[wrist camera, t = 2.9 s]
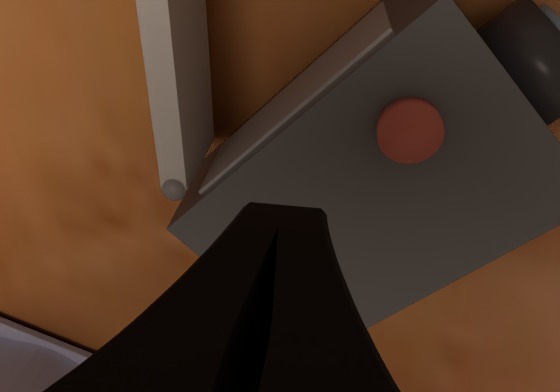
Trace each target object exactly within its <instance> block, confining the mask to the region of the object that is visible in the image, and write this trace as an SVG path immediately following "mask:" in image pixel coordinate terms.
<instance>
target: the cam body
mask: <svg viewBox="0 0 560 392" xmlns="http://www.w3.org/2000/svg"><path fill="white" fill-rule="evenodd" d="M558 118H560V17H559V16H558V15H557V14H556V13H555V12H554V11H553V10H552V9H551V8H550V7H549V6H547V5H546V4H542V5H541V6H539V7H538V6H537V5H536V4H535V3H534V2H533V1H532V0H516V1H515V2H513V3H512V4H511V5H509V6H508V7H507V8H506V9H504V10H503V11H502V12H500V13H499V14H498V15H497V16H495V17H494V18H493V19H491V20H490V21H489V22H488V23H486V24H485V25H484V26H482V27H481V28H480V29H479V30H477V31H476V30H475V29H474V28H473V26H472V25H471V24H470V22H469V21H468V20H467V18H466V17H465V16H464V14H463V13H462V12H461V10H460V9H459V8H458V6H457V5H456V4H455V2H454V1H453V0H382V1H380V2H379V3H378V4H377V5H376V6H375V7H374V8H373V9H372V10H370V11H369V12H368V13H367V14H366V15H365V16H364V17H363V18H361V19H360V20H359V21H358V22H357V23H356V24H355V25H354V26H352V27H351V28H350V29H349V30H348V31H347V32H346V33H345V34H344V35H342V36H341V37H340V38H339V39H338V40H337V41H336V42H335V43H333V44H332V45H331V46H330V47H329V48H328V49H327V50H326V51H325V52H323V53H322V54H321V55H320V56H319V57H318V58H317V59H316V60H314V61H313V62H312V63H311V64H310V65H309V66H308V67H307V68H306V69H304V70H303V71H302V72H301V73H300V74H299V75H298V76H297V77H295V78H294V79H293V80H292V81H291V82H290V83H289V84H288V85H287V86H285V87H284V88H283V89H282V90H281V91H280V92H279V93H278V94H276V95H275V96H274V97H273V98H272V99H271V100H270V101H269V102H268V103H266V104H265V105H264V106H263V107H262V108H261V109H260V110H259V111H257V112H256V113H255V114H254V115H253V116H252V117H251V118H250V119H249V120H247V121H246V122H245V123H244V124H243V125H242V126H241V127H240V128H238V129H237V130H236V131H235V132H234V133H233V134H232V135H231V136H229V137H228V138H227V139H226V140H225V141H224V142H223V143H222V144H221V145H219V146H218V147H217V148H216V149H215V150H214V151H213V152H212V153H210V154H209V155H208V156H207V157H206V158H205V159H204V160H203V161H202V163H201V165H200V167H199V169H198V171H197V172H196V174H195V176H194V178H193V180H192V182H191V184H190V186H189V188H188V189H187V191H186V193H185V195H184V197H183V199H182V201H181V203H180V205H179V206H178V208H177V210H176V212H175V214H174V216H173V218H172V220H171V222H170V223H169V225H168V227H167V230H168V231H169V232H171V233H172V234H173V235H174V236H176V237H177V238H178V239H179V240H180V241H182V242H183V243H184V244H185V245H186V246H188V247H189V248H190V249H191V250H193V251H194V252H195V253H196V254H197V255H199V256H201V255H202V254H203V253H204V252H205V251H206V250H207V249H208V248H209V247H210V246H211V245H212V243H213V242H214V241H215V240H216V239H217V238H218V237H219V236H220V234H221V233H222V232H223V231H224V230H225V229H226V228H227V226H228V225H229V224H230V223H231V222H232V220H233V219H234V218H235V217H236V216H237V214H238V213H239V212H240V211H241V209H242V208H243V207H244V206H245V205H247V204H248V203H249V202H257V203H268V204H279V205H290V206H301V207H313V208H321V209H322V210H323V211H324V212H325V213H326V214H327V221H328V227H329V232H330V237H331V240H332V244H333V247H334V250H335V254H336V257H337V260H338V263H339V266H340V268H341V271H342V274H343V276H344V279H345V281H346V284H347V286H348V288H349V291H350V293H351V296H352V298H353V301H354V303H355V305H356V307H357V310H358V312H359V314H360V316H361V318H362V321H363V323H364V325H365V327H366V328H368V327H370V326H372V325H374V324H376V323H378V322H379V321H381V320H383V319H385V318H387V317H389V316H391V315H392V314H394V313H396V312H398V311H400V310H402V309H404V308H405V307H407V306H409V305H411V304H413V303H415V302H417V301H419V300H420V299H422V298H424V297H426V296H428V295H430V294H432V293H433V292H435V291H437V290H439V289H441V288H443V287H445V286H447V285H448V284H450V283H452V282H454V281H456V280H458V279H460V278H461V277H463V276H465V275H467V274H469V273H471V272H473V271H474V270H476V269H478V268H480V267H482V266H484V265H486V264H488V263H489V262H491V261H493V260H495V259H497V258H499V257H501V256H502V255H504V254H506V253H508V252H510V251H512V250H514V249H516V248H517V247H519V246H521V245H523V244H525V243H527V242H529V241H530V240H532V239H534V238H536V237H538V236H540V235H542V234H544V233H545V232H547V231H549V230H551V229H553V228H555V227H557V226H558V225H560V142H559V141H558V140H557V138H556V137H555V136H554V134H553V133H552V132H551V130H550V129H549V128H548V126H547V125H549V124H551V123H552V122H554V121H555V120H557V119H558Z"/></svg>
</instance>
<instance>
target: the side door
mask: <svg viewBox="0 0 560 392" xmlns="http://www.w3.org/2000/svg"><path fill="white" fill-rule="evenodd" d="M136 6H137V14H138V21H139V29H140V36H141V43H142V51H143V58H144V66H145V73H146V81H147V88H148V96H149V103H150V110H151V118H152V125H153V133H154V140H155V148H156V155H157V163H158V170H159V177H160V185H161V190H162V193H163V195H164V196H165V197H166V198H167V199H169V200H172V201H178V200H180V199H182V198H183V196H184V194H185V192H186V191H187V189H188V187H189V185H190V183H191V181H192V180H193V178H194V176H195V174H196V172H197V170H198V168H199V166H200V164H201V163H202V161H203V159H204V157H205V155H206V153H207V151H208V149H209V147H210V146H211V144H212V142H213V140H214V124H213V108H212V91H211V75H210V59H209V43H208V27H207V11H206V0H136Z"/></svg>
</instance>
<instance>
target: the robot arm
mask: <svg viewBox="0 0 560 392" xmlns="http://www.w3.org/2000/svg"><path fill="white" fill-rule="evenodd" d="M0 392H400V390H399V388H398V387H397V385H396V383H395V382H394V380H393V378H392V376H391V375H390V373H389V371H388V369H387V367H386V366H385V364H384V362H383V360H382V358H381V356H380V354H379V352H378V351H377V349H376V347H375V345H374V343H373V341H372V339H371V337H370V335H369V333H368V331H367V329H366V327H365V325H364V323H363V321H362V318H361V316H360V314H359V312H358V310H357V307H356V305H355V303H354V301H353V298H352V296H351V293H350V291H349V288H348V286H347V284H346V281H345V279H344V276H343V274H342V271H341V268H340V266H339V263H338V260H337V257H336V254H335V250H334V247H333V244H332V240H331V237H330V232H329V227H328V221H327V214H326V213H325V212H324V211H323V210H322V209H321V208H313V207H301V206H290V205H279V204H268V203H257V202H249V203H248V204H247V205H245V206H244V207H243V208H242V209H241V211H240V212H239V213H238V214H237V216H236V217H235V218H234V219H233V220H232V222H231V223H230V224H229V225H228V226H227V228H226V229H225V230H224V231H223V232H222V233H221V234H220V236H219V237H218V238H217V239H216V240H215V241H214V242H213V243H212V245H211V246H210V247H209V248H208V249H207V250H206V251H205V252H204V253H203V254H202V255H201V256H200V257H199V258H198V259H197V260H196V261H195V263H194V264H193V265H192V266H191V267H190V268H189V269H188V270H187V271H186V272H185V273H184V274H183V275H182V276H181V277H180V278H179V279H178V280H177V281H176V282H175V283H174V284H173V285H172V286H171V287H170V288H168V289H167V290H166V291H165V292H164V293H163V294H162V295H161V296H160V297H159V298H158V299H157V300H156V301H154V302H153V303H152V304H151V305H150V306H149V307H148V308H147V309H146V310H145V311H144V312H143V313H142V314H140V315H139V316H138V317H137V318H136V319H135V320H134V321H132V322H131V323H130V324H129V325H128V326H127V327H125V328H124V329H123V330H122V331H121V332H120V333H118V334H117V335H116V336H115V337H113V338H112V339H111V340H110V341H109V342H107V343H106V344H105V345H104V346H102V347H101V348H100V349H99V350H97V351H96V352H95V353H93V354H92V353H90V352H87V351H85V350H82V349H80V348H77V347H75V346H72V345H70V344H67V343H65V342H62V341H60V340H57V339H55V338H52V337H50V336H47V335H45V334H42V333H40V332H37V331H35V330H32V329H30V328H27V327H25V326H22V325H20V324H17V323H15V322H12V321H10V320H7V319H5V318H2V317H0Z"/></svg>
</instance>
